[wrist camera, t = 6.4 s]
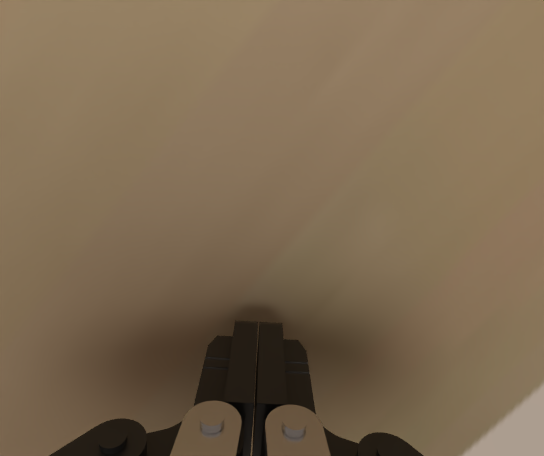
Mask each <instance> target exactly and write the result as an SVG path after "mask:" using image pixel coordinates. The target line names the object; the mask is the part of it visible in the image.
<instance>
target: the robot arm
mask: <svg viewBox="0 0 544 456" xmlns="http://www.w3.org/2000/svg"><path fill="white" fill-rule="evenodd" d="M257 328H258V322H250V321H235V326H234V333H233V337H232V336H217V337H216V338H215V339H214V340H213V341H212V342H211V343H210V344H209V345H208V349H207V353H206V358H205V361H204V365H203V369H202V374H201V378H200V382H199V386H198V390H197V394H196V398H195V403H194V406H193V407H192V408H191V409H190V410H189V411H188V412H187V413H186V414H185V416H184V418H183V421H182V422H180V423H179V424H177V425H175V426H173V427H171V428H168V429H164V430H160V431H156V432H151V433H147V434H146V431H145V429H144V427H143V426H142V425H141V424H139V423H138V422H136V421H134V420H130V419H114V420H110V421H106V422H104V423H102V424H100V425H98V426H96V427H94V428H93V429H91V430H90V431H88V432H86V433H85V434H83V435H82V436H80V437H78V438H77V439H75V440H74V441H72V442H70V443H69V444H67V445H66V446H64V447H62V448H61V449H59V450H58V451H56V452H54V453H53V454H51V455H50V456H250V453H251V439H252V425H253V411H254V429H253V452H252V456H423V455H422V454H421V453H419V452H418V451H417V450H416V449H414V448H413V447H412V446H411V445H409V444H408V443H407V442H405V441H404V440H402V439H401V438H399V437H397V436H394V435H391V434H388V433H371V434H368V435H367V436H365V437H364V438H363V439H362V440H361V441H360V443H359V444H358V443H355V442H352V441H349V440H346V439H343V438H340V437H338V436H336V435H334V434H332V433H331V432H329V431H328V430H327V429H326V428H324V427H323V425H322V422H321V421H320V419H319V418H318V416H317V415H316V412H315V407H314V400H313V393H312V387H311V380H310V375H309V367H308V360H307V354H306V350H305V349H304V347H303V346H302V345H301V343H300V342H299V341H298V340H286V339H283V328H282V323H268V322H260V325H259V338H258V352H257V366H256V350H257ZM255 372H256V383H255ZM254 394H255V406H254Z"/></svg>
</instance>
